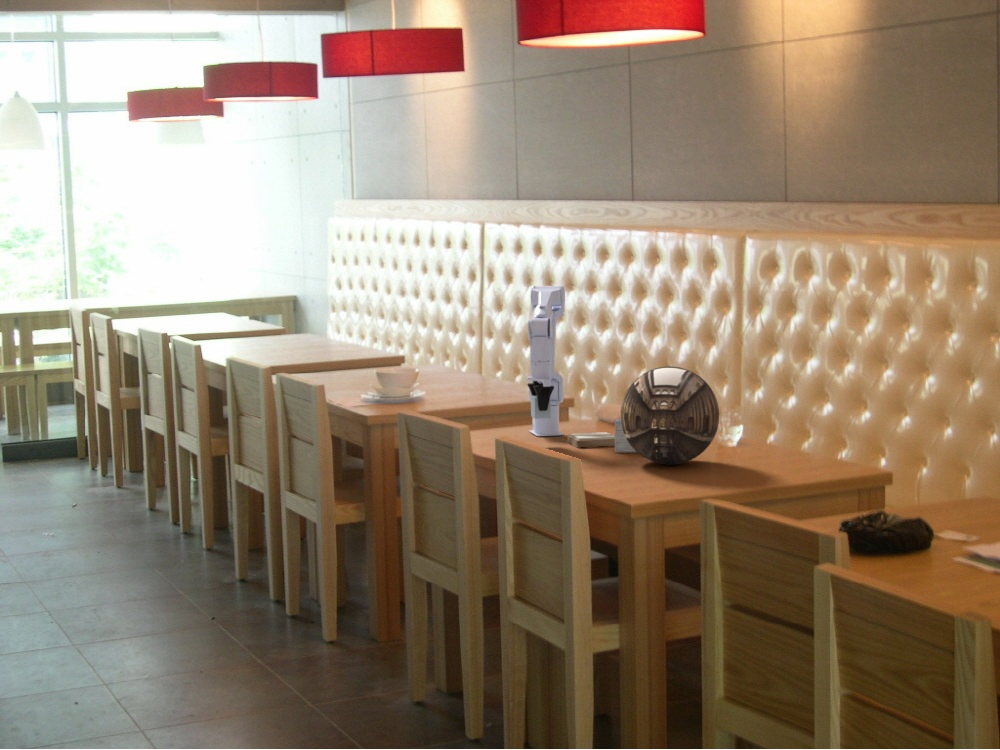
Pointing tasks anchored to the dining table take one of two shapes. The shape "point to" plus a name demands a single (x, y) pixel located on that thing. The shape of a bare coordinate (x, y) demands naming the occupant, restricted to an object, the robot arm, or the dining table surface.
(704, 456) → the dining table surface
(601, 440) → the brown picture frame
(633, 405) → the sphere
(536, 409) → the block
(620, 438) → the medicine box
